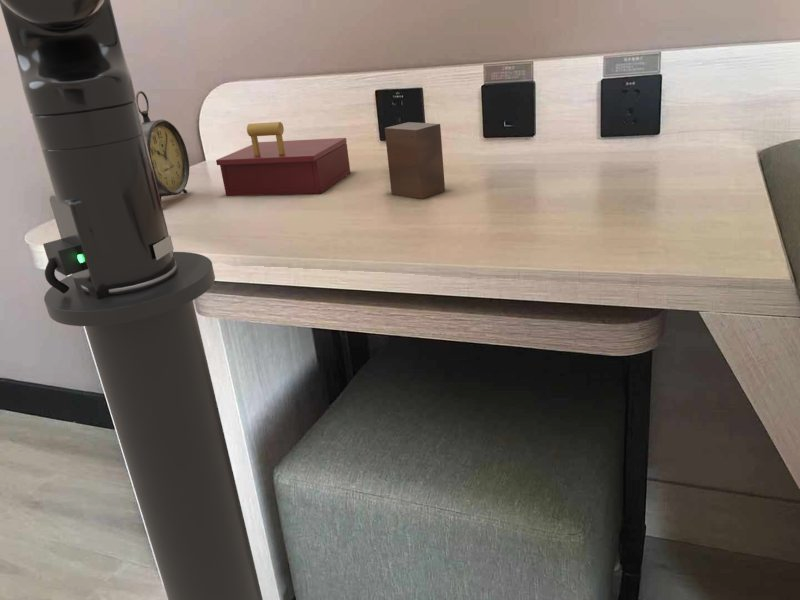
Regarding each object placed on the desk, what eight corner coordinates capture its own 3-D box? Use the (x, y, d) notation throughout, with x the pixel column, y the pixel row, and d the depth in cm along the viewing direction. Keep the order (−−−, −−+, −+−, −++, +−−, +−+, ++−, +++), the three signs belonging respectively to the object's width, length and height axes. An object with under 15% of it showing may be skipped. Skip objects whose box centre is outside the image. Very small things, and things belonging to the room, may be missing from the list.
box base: (321, 193, 98) (316, 160, 96) (226, 196, 103) (219, 164, 101) (350, 173, 109) (346, 143, 107) (263, 176, 114) (258, 147, 112)
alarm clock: (164, 211, 98) (136, 94, 91) (130, 212, 99) (100, 97, 92) (198, 191, 108) (175, 85, 101) (167, 193, 109) (142, 88, 102)
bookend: (422, 199, 90) (416, 130, 86) (391, 194, 94) (384, 128, 91) (445, 191, 93) (440, 123, 89) (414, 186, 97) (408, 122, 93)
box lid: (314, 161, 96) (308, 122, 94) (216, 165, 100) (209, 128, 98) (346, 142, 107) (342, 107, 105) (258, 147, 112) (252, 113, 110)
